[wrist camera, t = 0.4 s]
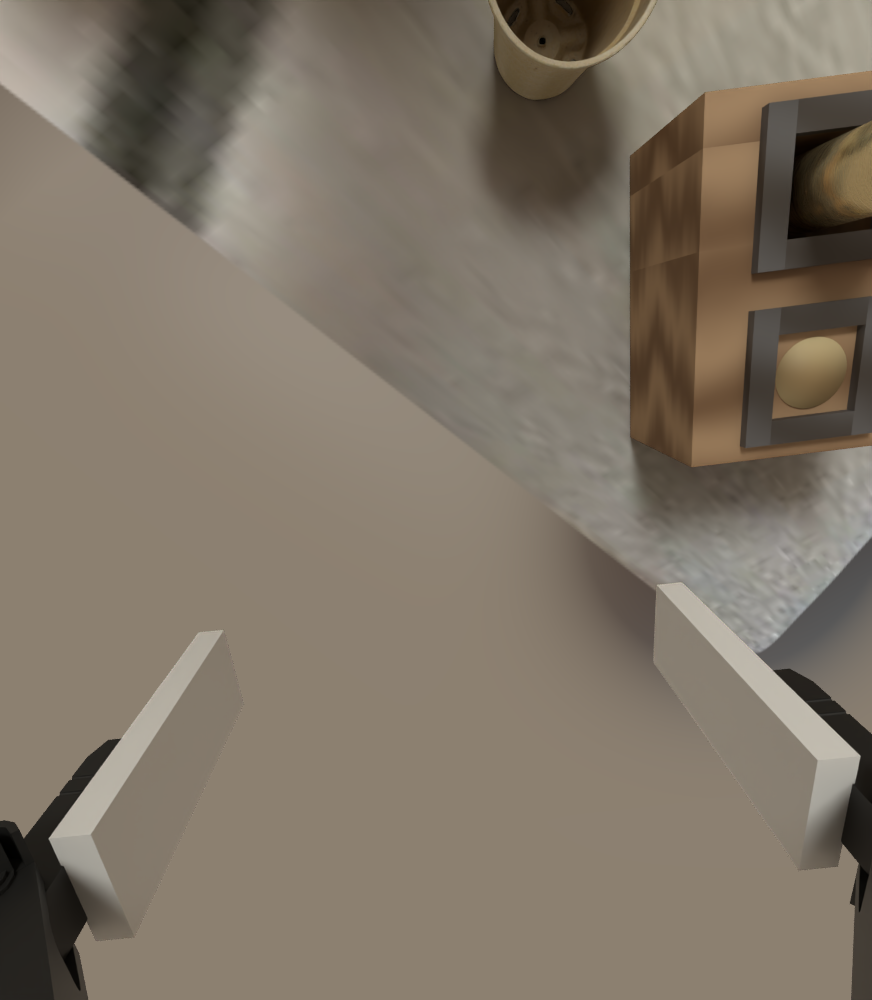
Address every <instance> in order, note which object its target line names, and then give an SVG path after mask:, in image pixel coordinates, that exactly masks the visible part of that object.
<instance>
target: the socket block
mask: <svg viewBox="0 0 872 1000" xmlns="http://www.w3.org/2000/svg"><path fill="white" fill-rule="evenodd" d="M870 121H872V71H866V72H859V73H851V74H843V75H835V76H828V77H820V78H812V79H804V80H797V81H789V82H781V83H773V84H766V85H758V86H750V87H742V88H735V89H727V90H719V91H711V92H705V93H704V94H703V95H701V96H700V97H699V98H698V99H697V100H696V101H694V102H693V103H692V104H691V105H690V106H688V107H687V108H686V109H685V110H684V111H683V112H681V113H680V114H679V115H678V116H677V117H676V118H674V119H673V120H672V121H671V122H670V123H668V124H667V125H666V126H665V127H664V128H663V129H661V130H660V131H659V132H658V133H657V134H656V135H654V136H653V137H652V138H651V139H650V140H649V141H647V142H646V143H645V144H644V145H643V146H641V147H640V148H639V149H638V150H637V151H636V152H634V153H633V154H632V155H631V156H630V437H631V438H633V439H635V440H637V441H639V442H641V443H643V444H645V445H647V446H649V447H651V448H653V449H655V450H657V451H659V452H662V453H664V454H666V455H668V456H670V457H672V458H674V459H676V460H678V461H680V462H682V463H684V464H686V465H688V466H690V467H698V466H706V465H715V464H723V463H731V462H739V461H748V460H756V459H764V458H772V457H781V456H789V455H797V454H805V453H814V452H822V451H830V450H838V449H847V448H855V447H863V446H871V445H872V216H871V217H867V218H863V219H860V220H856V221H852V222H848V223H844V224H840V225H837V226H833V227H829V228H825V229H821V230H817V231H814V232H810V233H806V234H801V235H791V234H788V223H789V211H790V199H791V187H792V176H793V164H794V157H796V156H798V155H800V154H802V153H805V152H807V151H809V150H811V149H813V148H815V147H817V146H819V145H821V144H824V143H826V142H828V141H830V140H832V139H834V138H836V137H838V136H841V135H843V134H845V133H847V132H849V131H851V130H853V129H855V128H857V127H860V126H862V125H864V124H866V123H868V122H870Z"/></svg>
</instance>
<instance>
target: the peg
mask: <svg viewBox="0 0 872 1000" xmlns="http://www.w3.org/2000/svg"><path fill="white" fill-rule="evenodd" d="M871 216H872V121H870V122H868V123H866V124H864V125H862V126H860V127H857V128H855V129H853V130H851V131H849V132H847V133H845V134H843V135H841V136H838V137H836V138H834V139H832V140H830V141H828V142H826V143H824V144H821V145H819V146H817V147H815V148H813V149H811V150H809V151H807V152H805V153H802V154H800V155H798V156H796V157H794V164H793V176H792V187H791V199H790V211H789V223H788V234H791V235H801V234H806V233H810V232H814V231H817V230H821V229H825V228H829V227H833V226H837V225H840V224H844V223H848V222H852V221H856V220H860V219H863V218H867V217H871Z"/></svg>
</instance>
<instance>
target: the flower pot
mask: <svg viewBox="0 0 872 1000" xmlns="http://www.w3.org/2000/svg"><path fill="white" fill-rule="evenodd" d="M565 1H566V2H567V3H568V4H569V5H570V6H571V9H572V14H571V15H570V14H569V13H568V12H567V11H566V10H565V9H564V8H563V7H562V6H561V5H560V4H558V3H557V2H556V0H488V2H489V5H490V8H491V10H492V13H493V15H494V54H495V59H496V63H497V67H498V70H499V72H500V74H501V76H502V78H503V79H504V81H505V82H506V84H507V85H508V86H509V87H510V88H511V89H512V90H513V91H515V92H516V93H517V94H519V95H521V96H523V97H525V98H527V99H532V100H539V99H547V98H552V97H555V96H557V95H559V94H561V93H562V92H564V91H565V90H567V89H568V88H569V87H570V86H571V85H572V84H573V83H574V82H575V80H576V79H577V78H578V77H579V76H580V75H581V74H582V73H583V72H584V71H585V70H586V69H587V68H588V67H591V66H594V65H597V64H599V63H601V62H603V61H605V60H607V59H609V58H610V57H612V56H613V55H615V54H616V53H618V52H619V51H620V50H621V49H623V48H624V47H625V46H626V45H627V44H628V43H629V42H630V41H631V40H632V39H633V38H634V37H635V35H636V34H637V33H638V32H639V31H640V29H641V28H642V26H643V25H644V24H645V22H646V21H647V19H648V17H649V16H650V14H651V12H652V10H653V8H654V7H655V5H656V2H657V0H565ZM516 10H520V12H519V14H518V15H517V17H516V22H515V21H514V22H513V23H512V25H511V26H508V25H507V23H508V21H509V19H510V17H511V16H512V14H513V13H514V11H516ZM540 38H545V44H539V40H540ZM572 60H574V61H572Z"/></svg>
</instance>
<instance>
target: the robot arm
mask: <svg viewBox="0 0 872 1000" xmlns="http://www.w3.org/2000/svg"><path fill="white" fill-rule="evenodd" d="M653 662H654V664H655V665H656V666H657V668H658V669H659V671H660V672H661V674H662V675H663V676H664V678H665V679H666V681H667V682H668V684H669V685H670V687H671V688H672V689H673V691H674V692H675V694H676V695H677V697H678V698H679V699H680V701H681V702H682V704H683V705H684V706H685V708H686V709H687V711H688V712H689V714H690V715H691V717H692V718H693V720H694V721H695V722H696V724H697V725H698V727H699V728H700V730H701V731H702V732H703V734H704V735H705V737H706V738H707V739H708V741H709V742H710V744H711V745H712V746H713V748H714V750H715V751H716V752H717V754H718V755H719V756H720V758H721V759H722V761H723V763H724V764H725V765H726V767H727V768H728V770H729V771H730V773H731V774H732V775H733V777H734V778H735V780H736V781H737V783H738V784H739V786H740V787H741V788H742V790H743V791H744V793H745V794H746V796H747V797H748V798H749V800H750V801H751V803H752V804H753V806H754V807H755V808H756V810H757V811H758V813H759V814H760V816H761V817H762V818H763V820H764V821H765V823H766V824H767V826H768V827H769V829H770V830H771V831H772V833H773V834H774V836H775V837H776V839H777V840H778V841H779V843H780V844H781V846H782V847H783V849H784V850H785V851H786V853H787V854H788V856H789V857H790V859H791V860H792V861H793V863H794V864H795V866H796V867H797V869H798V870H808V869H818V868H828V867H837V866H838V863H839V858H840V853H841V848H842V844H843V845H844V846H845V847H846V848H847V849H848V851H849V852H850V853H851V854H852V855H853V857H854V858H855V859H856V860H857V862H858V863H859V865H858V869H857V874H856V879H855V883H854V887H853V892H852V896H851V901H850V904H852V905H854V906H855V918H854V944H853V968H852V993H851V994H852V995H851V1000H872V734H871V733H870V732H869V731H868V730H866V729H865V728H864V727H863V726H862V725H861V724H860V723H859V722H858V721H856V720H855V719H854V718H853V717H852V716H851V715H850V714H846V711H845V710H844V709H843V708H842V707H841V706H840V705H839V704H838V703H836V702H835V701H832V700H831V697H830V696H829V695H828V694H826V693H825V692H824V691H823V690H822V689H821V688H820V687H819V686H818V685H816V684H815V683H814V682H813V681H811V680H809V679H808V678H806V677H804V676H802V675H800V674H798V673H797V672H795V671H793V670H791V669H782V670H771V668H769V667H768V666H767V665H766V664H765V663H764V662H763V661H762V660H761V659H760V658H759V657H758V656H757V655H756V654H755V653H754V652H753V651H752V650H751V649H750V648H749V647H748V646H747V645H746V644H745V643H744V642H743V641H742V640H741V639H740V638H739V637H738V636H737V635H736V634H735V633H734V632H732V631H731V630H730V629H729V628H728V627H727V626H726V625H725V624H724V623H723V622H722V621H721V620H720V619H719V618H718V617H717V616H716V615H715V614H714V613H713V612H712V611H711V610H710V609H709V608H708V607H707V606H706V605H705V604H704V603H703V602H702V601H701V600H700V599H699V598H698V597H696V596H695V595H694V594H693V593H692V592H691V591H690V590H689V589H688V588H687V587H686V586H685V585H684V584H683V583H682V582H680V583H671V584H661V585H657V587H656V611H655V636H654V661H653ZM243 705H244V702H243V699H242V695H241V691H240V688H239V684H238V680H237V676H236V673H235V669H234V665H233V661H232V658H231V654H230V650H229V647H228V643H227V639H226V635H225V631H224V630H217V631H207V632H199V633H198V634H197V636H196V637H195V638H194V640H193V641H192V643H191V644H190V645H189V647H188V648H187V650H186V651H185V652H184V654H183V655H182V656H181V658H180V659H179V660H178V662H177V663H176V664H175V666H174V667H173V669H172V670H171V671H170V673H169V674H168V675H167V677H166V678H165V680H164V681H163V682H162V684H161V685H160V687H159V688H158V689H157V691H156V692H155V693H154V695H153V696H152V698H151V699H150V700H149V702H148V703H147V704H146V706H145V707H144V709H143V710H142V711H141V713H140V714H139V715H138V717H137V718H136V719H135V721H134V722H133V723H132V725H131V726H130V728H129V729H128V730H127V732H126V733H125V734H124V736H123V737H122V739H113V740H108V741H106V742H105V743H104V744H103V745H102V746H101V747H99V748H98V749H97V750H96V751H94V752H93V753H92V754H91V755H90V756H88V757H87V758H86V759H85V761H84V762H83V763H82V765H81V766H80V767H79V768H78V770H77V771H76V772H75V774H74V775H73V776H72V780H69V781H68V783H67V784H66V785H65V786H64V788H63V789H62V790H61V792H60V795H59V796H57V797H56V798H55V799H54V801H53V802H52V803H51V805H50V806H49V807H48V808H47V810H46V811H45V812H44V813H43V815H42V816H41V817H40V819H39V820H38V821H37V822H36V824H35V825H34V826H33V828H32V829H31V830H30V831H29V833H28V834H27V835H26V837H25V838H24V839H23V837H22V835H21V832H20V830H19V829H18V827H17V825H16V824H15V823H14V822H10V821H5V820H4V821H0V1000H88V996H87V991H86V986H85V981H84V976H83V971H82V965H81V960H80V955H79V952H78V950H77V948H76V946H75V944H74V943H75V941H76V939H77V937H78V935H79V934H80V932H81V930H82V928H83V926H84V925H85V923H86V921H87V923H88V925H89V927H90V929H91V931H92V934H93V936H94V938H95V940H96V941H103V940H113V939H123V938H132V937H135V935H136V933H137V931H138V929H139V927H140V925H141V922H142V920H143V918H144V916H145V914H146V912H147V910H148V907H149V905H150V903H151V901H152V899H153V897H154V895H155V893H156V891H157V888H158V886H159V884H160V882H161V880H162V878H163V876H164V873H165V871H166V869H167V867H168V865H169V863H170V861H171V859H172V856H173V854H174V852H175V850H176V848H177V846H178V844H179V842H180V839H181V837H182V835H183V833H184V831H185V829H186V826H187V824H188V822H189V820H190V818H191V816H192V814H193V812H194V809H195V807H196V805H197V803H198V801H199V799H200V797H201V794H202V793H203V790H204V788H205V786H206V784H207V782H208V780H209V777H210V775H211V773H212V771H213V769H214V767H215V765H216V763H217V761H218V758H219V756H220V754H221V752H222V750H223V748H224V745H225V744H226V741H227V739H228V737H229V735H230V733H231V731H232V729H233V726H234V724H235V722H236V720H237V718H238V716H239V714H240V712H241V709H242V707H243Z"/></svg>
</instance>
